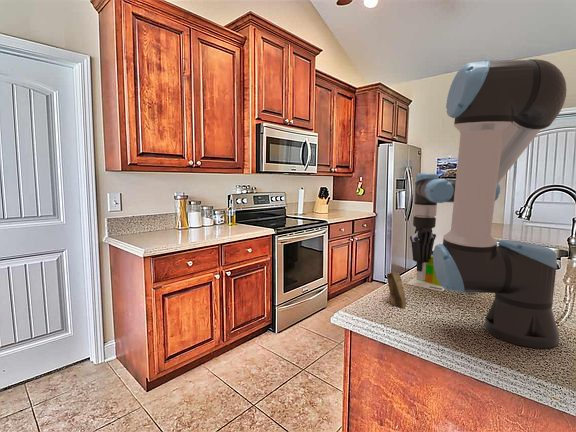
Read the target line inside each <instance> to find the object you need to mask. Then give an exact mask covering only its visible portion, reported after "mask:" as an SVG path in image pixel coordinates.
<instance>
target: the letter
mask: <svg viewBox="0 0 576 432" xmlns="http://www.w3.org/2000/svg"><path fill="white" fill-rule="evenodd" d="M405 285H410V286H415V287H420V288H424V289H429V290H433V291H437V292H445V291H446V289H444V288H443V287H442V286H438V285H435V284H432V283H428V282H425V281H421V280H418V279H416V276H415V277H414V278H413V279H411V280H409V281H408V282H406V283H405Z"/></svg>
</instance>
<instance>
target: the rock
mask: <svg viewBox="0 0 576 432" xmlns="http://www.w3.org/2000/svg"><path fill="white" fill-rule="evenodd" d="M401 277H402V276H401V274H399V273H398V272H396V271H393V272H390V273H387V274H386V279H387V285H388V290H389V296H390V297H389V298H390V304H391V305H393V306H395V307H398V308H401V309H406V305H407V301H406V300H407V299H406V293H405V290H404V286H403V284H402V282H403V281H402V278H401Z"/></svg>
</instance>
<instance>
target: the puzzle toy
mask: <svg viewBox="0 0 576 432" xmlns="http://www.w3.org/2000/svg"><path fill="white" fill-rule="evenodd" d="M433 251H434V250H432V254H431V259H430V260H428V261H430V262H429V263H427V262H426V273H425V280H423V281H425V282H428V283H432V284H435V285H438V286H441V285H440V283H439V281H438V279H437V277H436V273H435V269H434V264H433ZM418 280H419V279H418ZM421 281H422V280H421Z"/></svg>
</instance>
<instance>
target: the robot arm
mask: <svg viewBox="0 0 576 432" xmlns="http://www.w3.org/2000/svg"><path fill="white" fill-rule="evenodd" d="M566 97H567V83H566V79H565V76H564V74H563V72H562V71H561V69H560V68H559V67H557V66H556V65H555V64H554V63H552V62H550V61H547V60H544V59H537V58H536V59H535V58H534V59H533V58H532V59H531V58H530V59H518V60H517V59H516V60H515V59H513V60H512V59H510V60H507V59H506V60H505V59H504V60H503V59H502V60H488V59H487V60H483V61H474V62H468V63H466V64H464V65H463V66H461V67H460V69H458V71H457V72H456V74H455V75H454V78H453V79H452V82H451V84H450V87H449V90H448V94H447V97H446V98H447V99H446V103H445V104H446V105H445V108H446V114H447V115H448V117H450V118H452V119H454V122H453V126H454V128H456V130H457V131H459V135H460V136H459V147H458V153H457V154H458V156H457V162H456V163H457V166H456V175H455V178H450V179H449V178H448V179H447V178H439V174H438V173H435V172H434V173H433V172H432V173H431V172H430V173H427V172H426V173H425V172H424V173H422V172H421V173H417V175H416V176H415V181H414V185H415V186H414V202H413V203H414V206H413V215H414V216H413V218H412V220H413V221H412V226H413V227H415V229H414V235H411V236H409V240H410V243H411V253H412V260H413V261H414V262H416V274H415V275H416V276H415V277H416V279H419V280H422V281H423V280H425V273H426V262H427V263H429V262H430V261H428V260H430V259H431V254H432V251H433V264H434V269H435V273H436V277H437V279H438V281H439V283H440V285H441V286H442V287H443V288H444V289H445V291H448V292H449V291H450V292H459V293H461V294H462V293H466V292H475V293H477V294H478V293H480V294H481V293H482V294H483V293H485V294H486V293H487V294H494V300H493V302H492V304H491V306H490V307H489V309H488V311H487V314H486V315H485V319H484V328H485V330H486V331H487V332H488V333H490V335H492V336H494V337H496V338H497V339H500V340H501V341H504V342H507V343H511V344H513V345H517V346H522V347H526V348H532V349H553V348H555V347H557V346H558V345H559V340H560V332H559V329H558V325H557V322H556V319H555V316H554V312H553V305H554V303H553V301H554V292H555V286H556V285H555V284H556V283H555V282H556V275H557V274H556V273H557V270H558V265H557V263H558V261H557V260H558V259H557V258H558V257H557V253H556V252H555V251H554V250H553V249H552V248H549V247H546V246H542V245H539V244H534V243H530V242H523V241H520V240H514V239H513V240H512V239H500V240H499V241H497V239H496V238H495V237H493V236H492V226H493V219H494V218H493V217H494V210H495V203H496V201H497V200H498V198H499V197H500V196H499V195H500V194H501V185H500V182H501V181H502V179H503V178H504V177H505V176H506V174H507V173H508V172H509V171H510V169H512V167H513V165H514V164H515V163H516V162H517V160H518V159H519V158H520V156H521V155H522V154H523V152H525V150H526V149H527V147H528V146H529V145H530V144H531V143H532V141H534V139H535V138H536V136H537V135H538V133H539V132H540V131H542V130H545V129H547V128H549V127H550V126H551V125H552V123H553V122H554V121H555V120H556V119H557V117H558V115H559V114H560V113H561V112H562V109H563V107H564V105H565V101H566ZM442 203H443V204H444V203H453V205H452V214H451V225H450V226H451V228H450V230H449V231H448V232H447V233H445V234H444V235H443V238H442V239H443V240H442V243H439V244H436V245H435V246H434V244H435V240H436V238H437V234H436V233H433V229H434V228H435V227H436V222H437V221H436V220H437V218H436V216H437V205H438V204H442Z"/></svg>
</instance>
